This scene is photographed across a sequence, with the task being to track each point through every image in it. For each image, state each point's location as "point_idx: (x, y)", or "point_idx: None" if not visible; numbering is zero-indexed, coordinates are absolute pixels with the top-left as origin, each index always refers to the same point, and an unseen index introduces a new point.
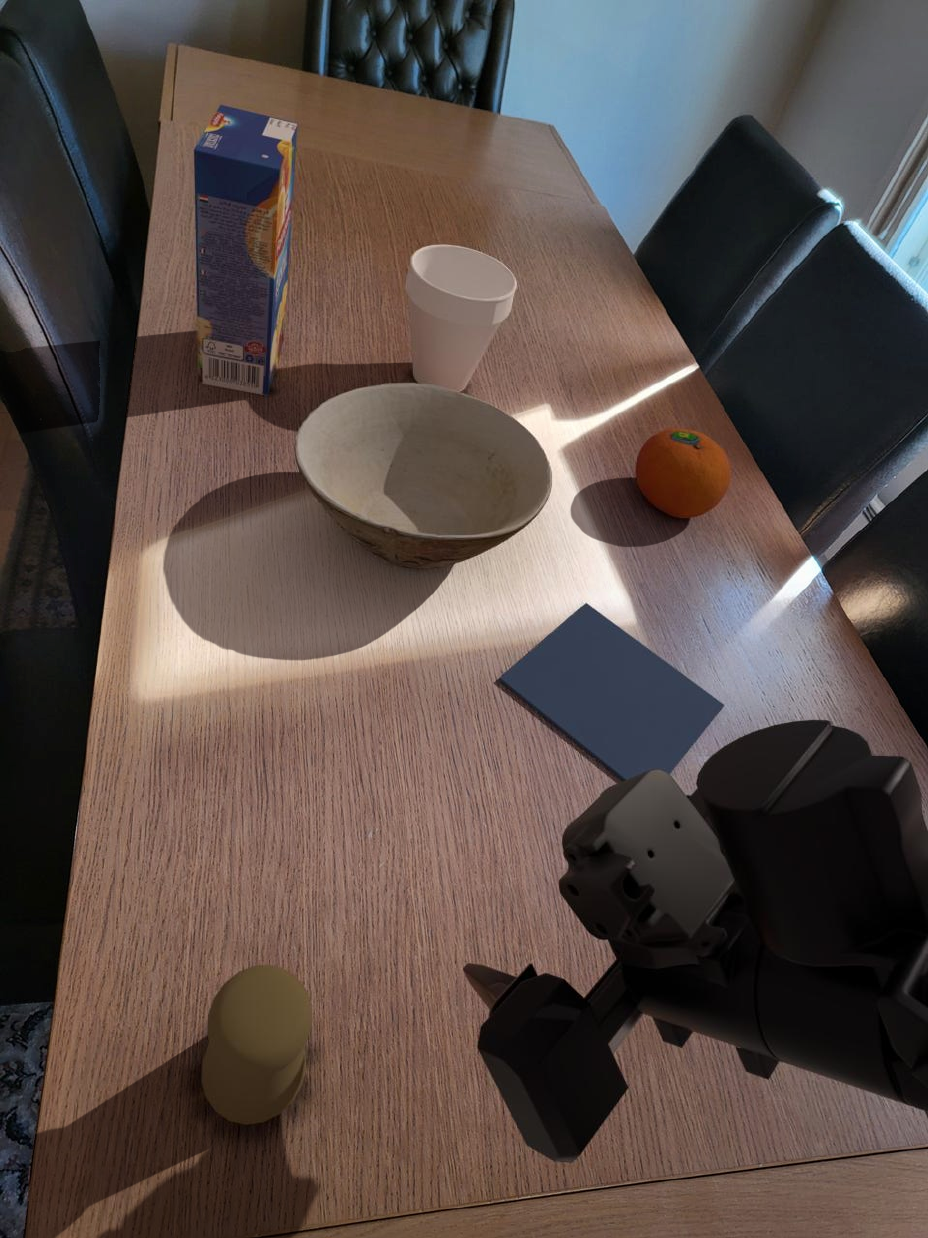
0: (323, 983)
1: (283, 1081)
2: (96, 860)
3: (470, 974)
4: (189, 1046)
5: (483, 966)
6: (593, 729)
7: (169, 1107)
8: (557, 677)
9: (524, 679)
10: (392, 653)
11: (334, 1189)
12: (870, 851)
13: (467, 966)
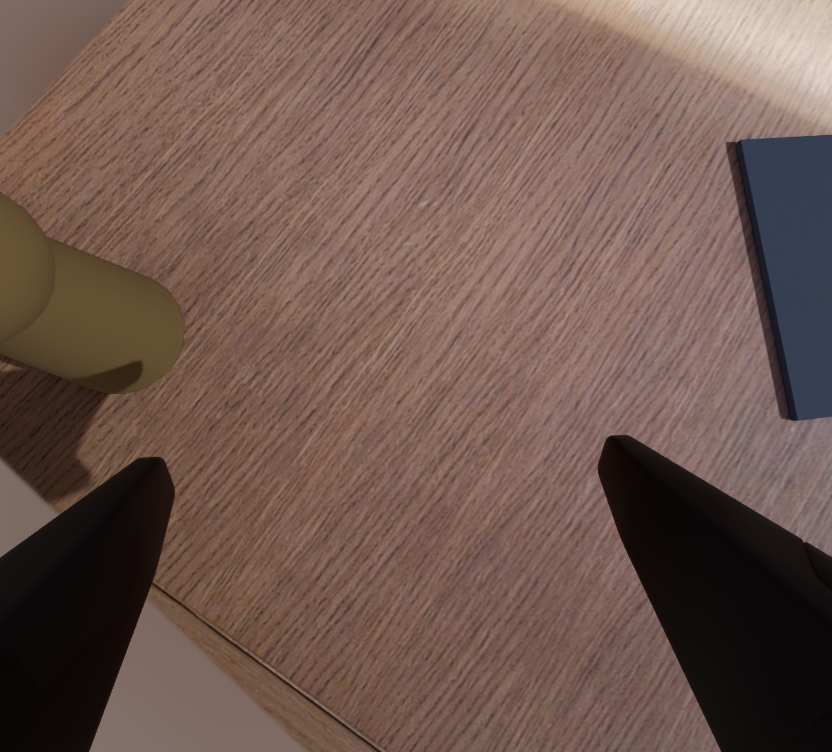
0: (247, 311)
1: (49, 367)
2: (130, 20)
3: (87, 495)
4: None
5: (111, 509)
6: (805, 287)
7: None
8: (819, 192)
9: (771, 164)
10: (630, 20)
11: None
12: None
13: (137, 465)
